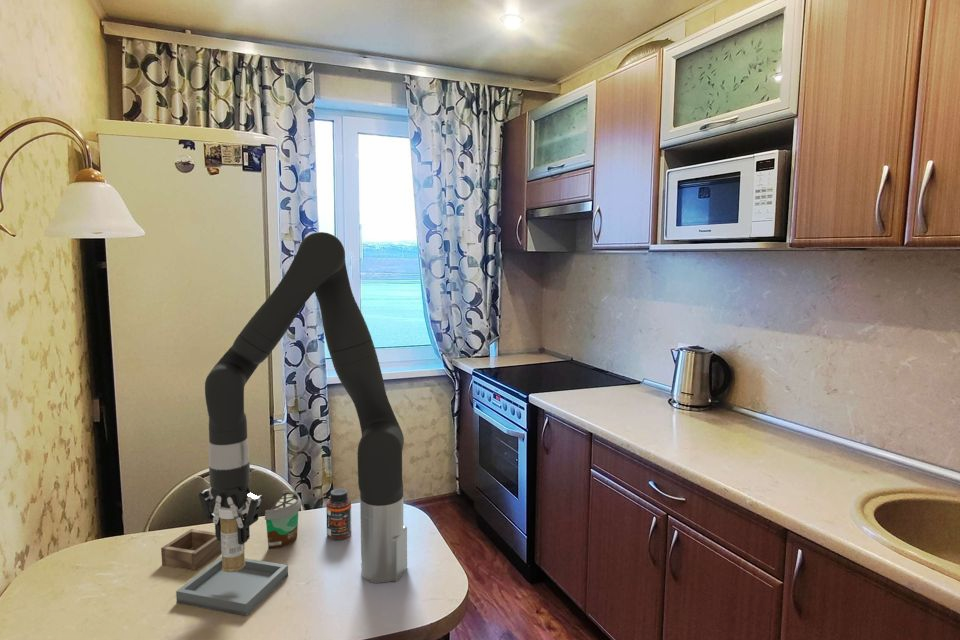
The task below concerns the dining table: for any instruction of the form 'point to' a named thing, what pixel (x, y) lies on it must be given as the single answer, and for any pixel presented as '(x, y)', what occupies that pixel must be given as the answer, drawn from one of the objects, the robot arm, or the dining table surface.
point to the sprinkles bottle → (230, 542)
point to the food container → (283, 520)
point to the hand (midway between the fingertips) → (232, 540)
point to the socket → (185, 558)
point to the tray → (232, 586)
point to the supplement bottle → (338, 515)
